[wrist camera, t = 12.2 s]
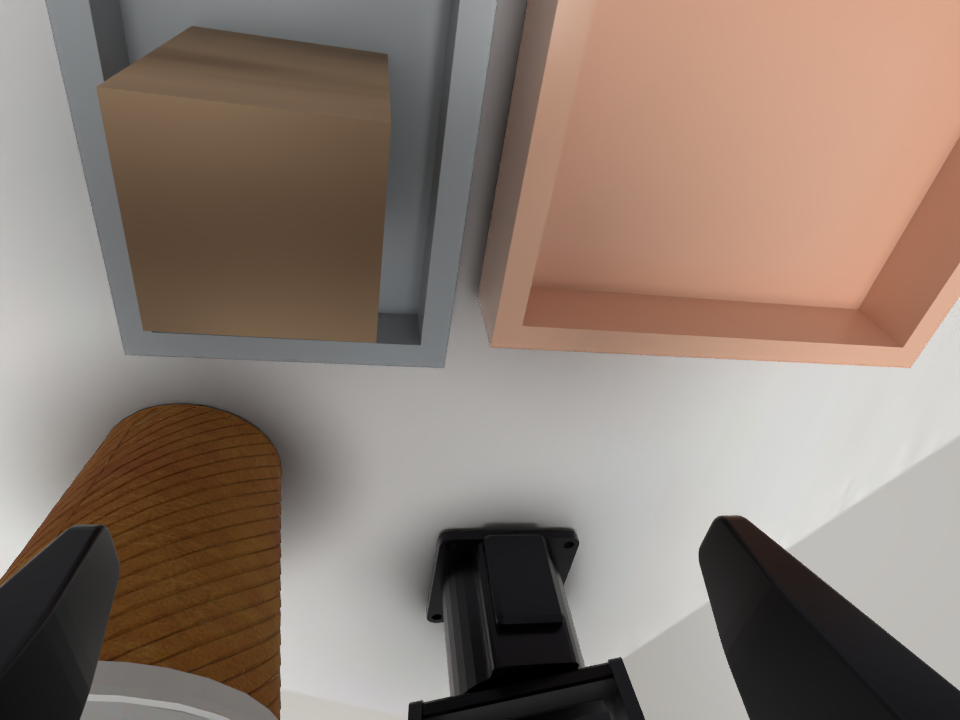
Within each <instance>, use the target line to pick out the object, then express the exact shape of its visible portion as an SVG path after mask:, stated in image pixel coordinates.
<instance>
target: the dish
mask: <svg viewBox="0 0 960 720" xmlns="http://www.w3.org/2000/svg"><path fill="white" fill-rule="evenodd" d="M959 297H960V0H528V2H527V8H526V14H525V20H524V26H523V32H522V37H521V43H520V49H519V55H518V61H517V67H516V73H515V79H514V85H513V91H512V96H511V102H510V108H509V114H508V120H507V126H506V132H505V138H504V144H503V150H502V156H501V161H500V167H499V173H498V179H497V185H496V191H495V197H494V203H493V209H492V215H491V220H490V226H489V232H488V238H487V244H486V250H485V256H484V262H483V268H482V274H481V280H480V285H479V291H478V299H479V303H480V307H481V311H482V315H483V319H484V323H485V327H486V331H487V335H488V338H489V342H490V346H491V347H493V348H513V349H534V350H554V351H575V352H595V353H615V354H636V355H656V356H676V357H697V358H717V359H737V360H758V361H778V362H798V363H819V364H839V365H859V366H880V367H900V368H911V366H912V365H913V363H914V362H915V361H916V359H917V358H918V356H919V355H920V353H921V352H922V350H923V349H924V347H925V346H926V345H927V343H928V342H929V340H930V339H931V337H932V336H933V334H934V333H935V331H936V330H937V329H938V327H939V326H940V324H941V323H942V321H943V320H944V318H945V317H946V316H947V314H948V313H949V311H950V310H951V308H952V307H953V305H954V304H955V302H956V301H957V300H958V298H959Z"/></svg>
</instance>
